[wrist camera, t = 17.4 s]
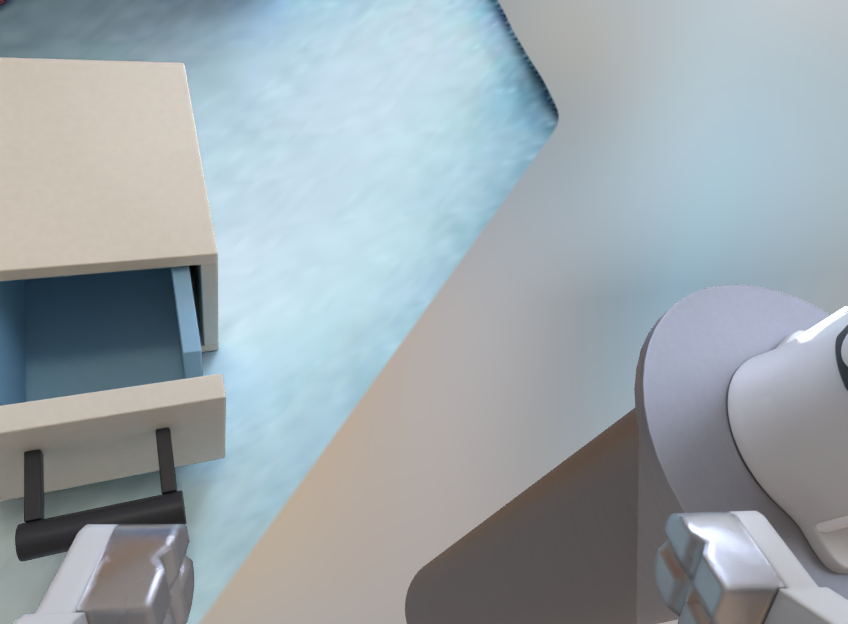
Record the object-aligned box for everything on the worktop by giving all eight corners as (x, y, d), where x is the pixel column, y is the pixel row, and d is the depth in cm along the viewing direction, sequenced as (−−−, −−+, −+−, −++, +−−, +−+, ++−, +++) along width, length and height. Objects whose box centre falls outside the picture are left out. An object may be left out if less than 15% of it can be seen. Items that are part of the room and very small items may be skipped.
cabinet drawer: (237, 540, 31) (242, 494, 25) (-7, 599, 28) (-76, 564, 21) (195, 266, 39) (190, 179, 33) (-1, 283, 35) (-50, 188, 29)
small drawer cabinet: (218, 350, 37) (217, 253, 30) (-11, 380, 33) (-83, 277, 25) (191, 179, 44) (184, 62, 36) (-6, 186, 39) (-62, 55, 32)
